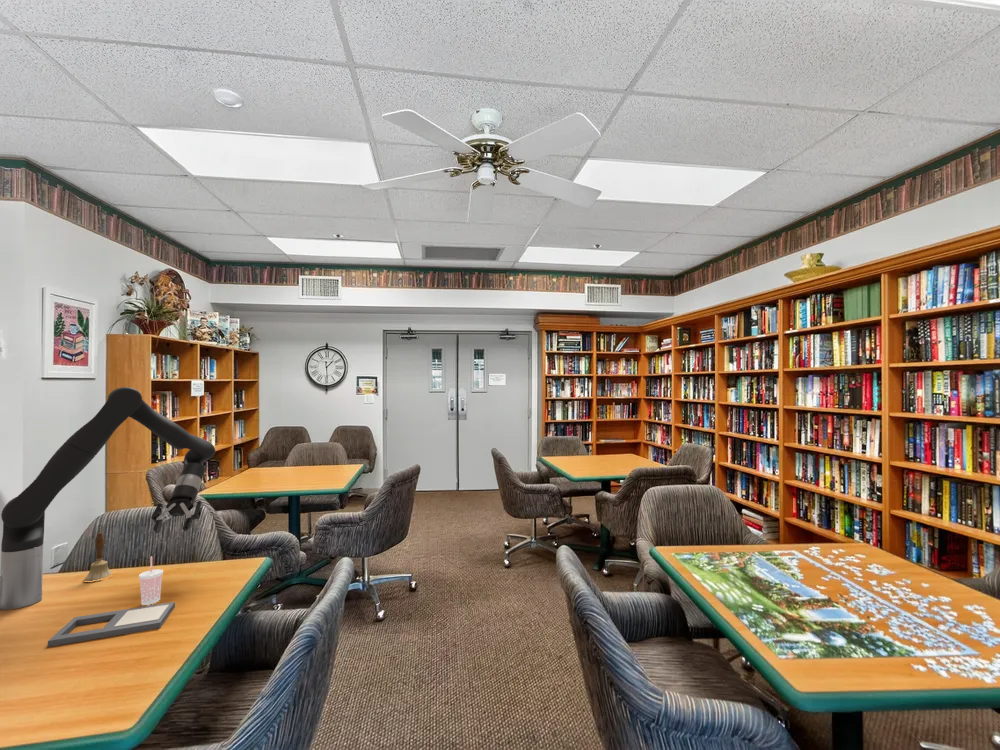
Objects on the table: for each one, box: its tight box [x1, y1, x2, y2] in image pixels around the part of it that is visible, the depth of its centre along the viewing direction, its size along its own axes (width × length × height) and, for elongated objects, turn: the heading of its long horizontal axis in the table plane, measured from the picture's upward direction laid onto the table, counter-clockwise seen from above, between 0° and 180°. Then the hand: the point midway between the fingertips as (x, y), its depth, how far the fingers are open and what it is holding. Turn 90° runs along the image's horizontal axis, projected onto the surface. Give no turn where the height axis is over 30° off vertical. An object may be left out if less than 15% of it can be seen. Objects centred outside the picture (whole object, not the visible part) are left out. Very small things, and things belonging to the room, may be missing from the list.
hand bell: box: [83, 532, 113, 581], centre depth 165 cm, size 8×8×16 cm
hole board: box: [47, 601, 176, 648], centre depth 129 cm, size 24×14×2 cm, turn 111°
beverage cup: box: [138, 556, 164, 606], centre depth 144 cm, size 6×6×14 cm
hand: (170, 530), depth 156 cm, fingers open, 8 cm apart
